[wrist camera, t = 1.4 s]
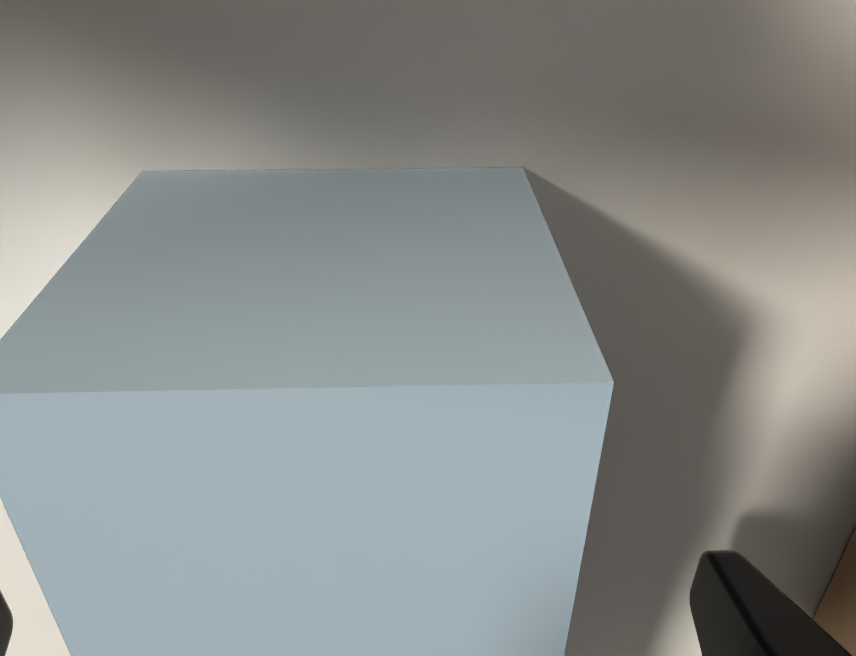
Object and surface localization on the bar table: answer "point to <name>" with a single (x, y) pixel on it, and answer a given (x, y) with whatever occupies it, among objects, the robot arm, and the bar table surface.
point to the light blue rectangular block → (307, 419)
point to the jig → (841, 601)
